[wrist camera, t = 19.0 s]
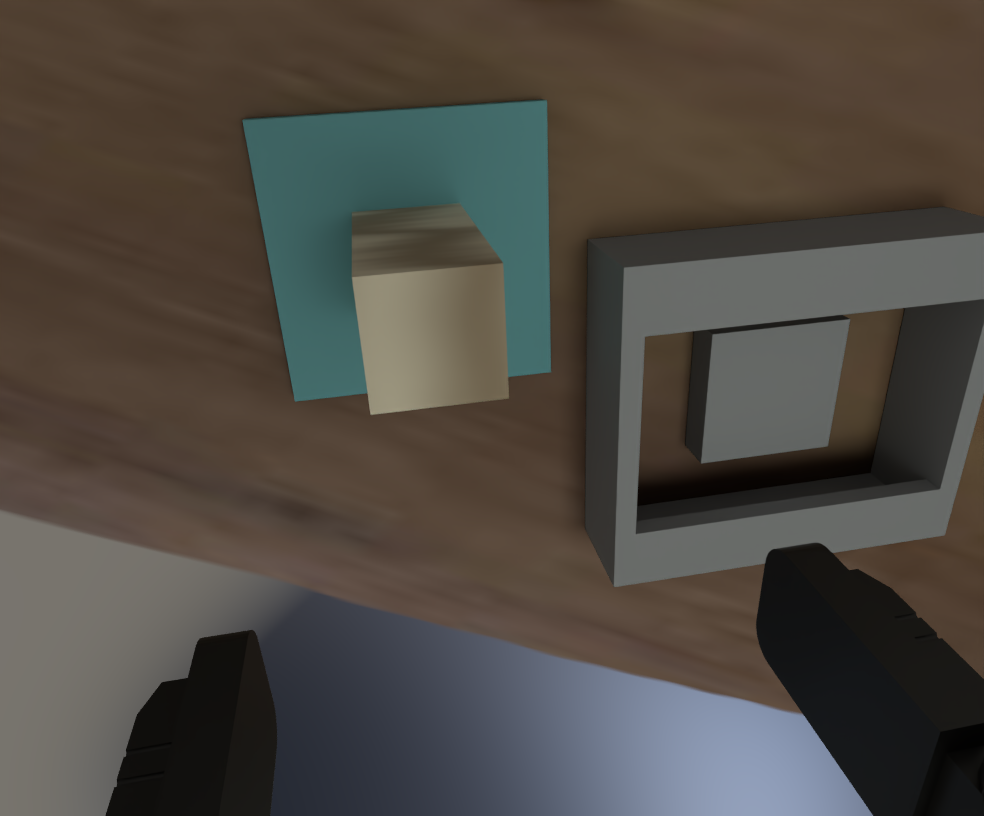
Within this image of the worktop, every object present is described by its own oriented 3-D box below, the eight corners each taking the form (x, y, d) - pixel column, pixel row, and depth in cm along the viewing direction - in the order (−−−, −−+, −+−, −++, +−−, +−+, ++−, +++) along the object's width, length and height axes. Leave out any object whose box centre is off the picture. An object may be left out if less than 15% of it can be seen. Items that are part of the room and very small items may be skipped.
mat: (296, 394, 34) (295, 401, 33) (245, 118, 29) (242, 120, 28) (546, 365, 36) (550, 372, 35) (542, 99, 30) (546, 100, 30)
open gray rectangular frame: (585, 528, 40) (613, 587, 36) (587, 239, 33) (624, 267, 29) (882, 485, 43) (944, 535, 38) (944, 207, 36) (1029, 228, 31)
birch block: (365, 315, 32) (370, 414, 23) (351, 212, 30) (351, 277, 21) (466, 305, 33) (509, 398, 24) (459, 203, 31) (503, 262, 22)
